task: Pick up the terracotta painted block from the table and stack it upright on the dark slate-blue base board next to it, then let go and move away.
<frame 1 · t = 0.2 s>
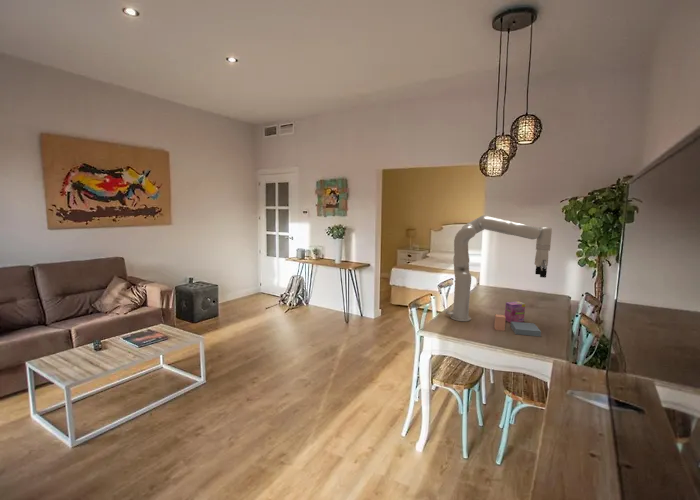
hand: (540, 275, 218), 31 cm above the table, tool pointing down, fingers open, 9 cm apart
base: (524, 331, 210), on the table
box: (514, 321, 229), on the table
block: (499, 328, 213), on the table
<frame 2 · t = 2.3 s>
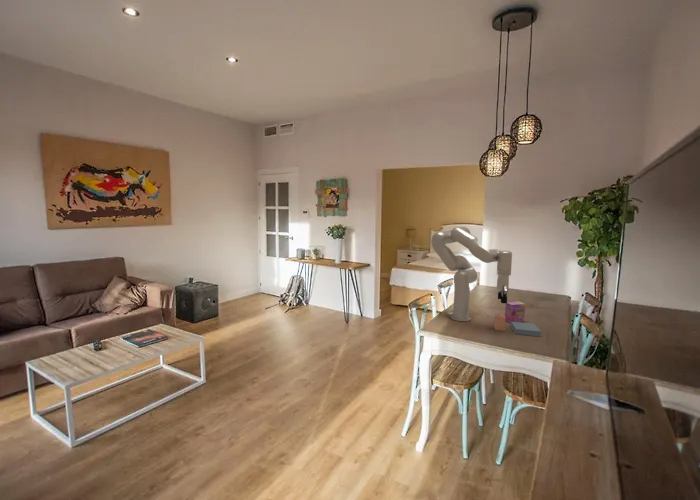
hand: (502, 301, 211), 17 cm above the table, tool pointing down, fingers open, 9 cm apart
nothing on the table moved.
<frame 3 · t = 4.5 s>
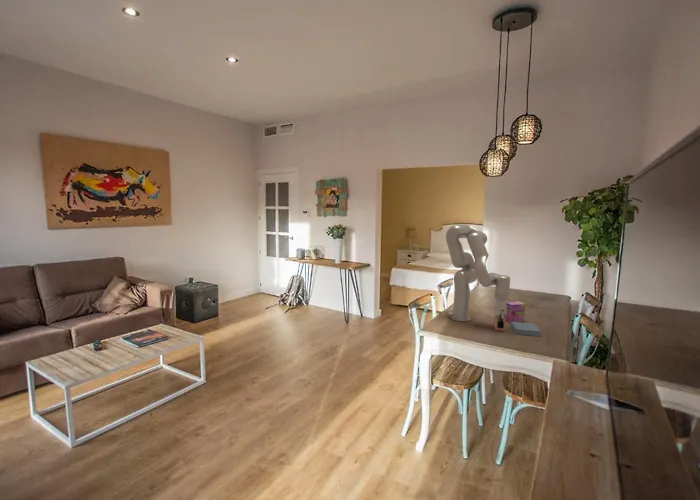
hand: (499, 326, 213), 2 cm above the table, tool pointing down, fingers closed on block, 5 cm apart
block: (499, 328, 213), on the table, touching gripper
everything else where it was.
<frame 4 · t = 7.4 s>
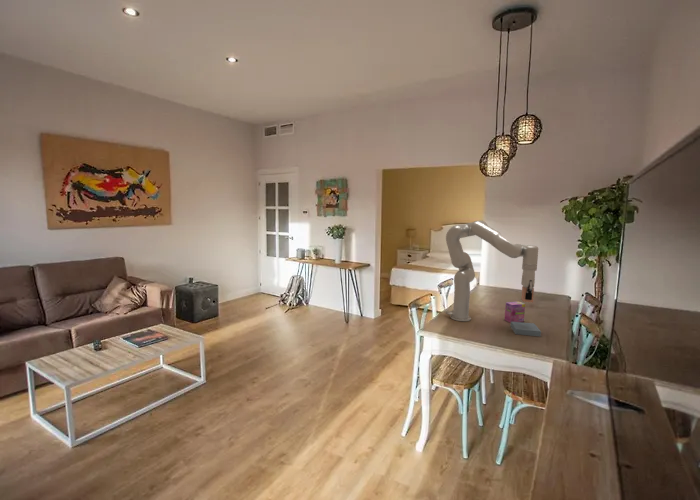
hand: (527, 298, 208), 20 cm above the table, tool pointing down, fingers closed on block, 5 cm apart
block: (527, 300, 208), point 18 cm above the table, touching gripper
everything else where it was.
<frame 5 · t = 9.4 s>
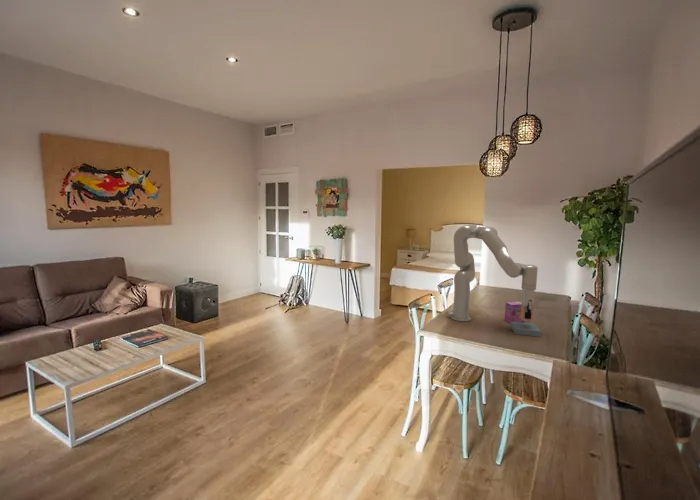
hand: (526, 316, 209), 9 cm above the table, tool pointing down, fingers closed on block, 5 cm apart
block: (526, 319, 209), point 7 cm above the table, touching gripper
everything else where it was.
when the fingers open (6 cm above the table, at t = 10.7 s): block drops 2 cm, resting on base.
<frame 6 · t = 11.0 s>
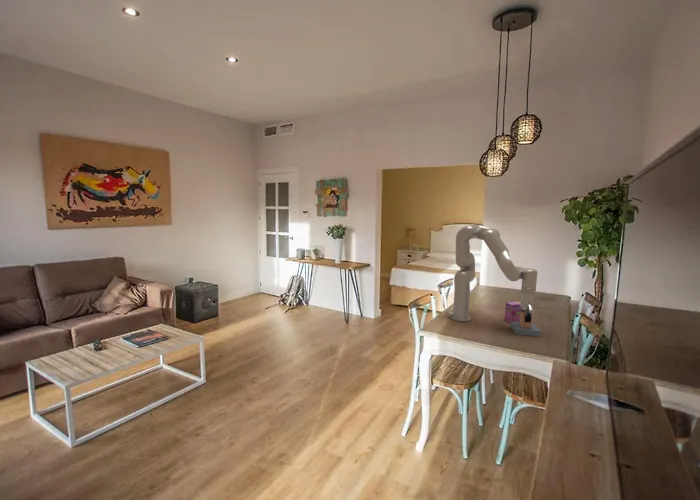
hand: (525, 319, 210), 7 cm above the table, tool pointing down, fingers open, 7 cm apart
block: (525, 326, 210), point 3 cm above the table, touching base
everything else where it was.
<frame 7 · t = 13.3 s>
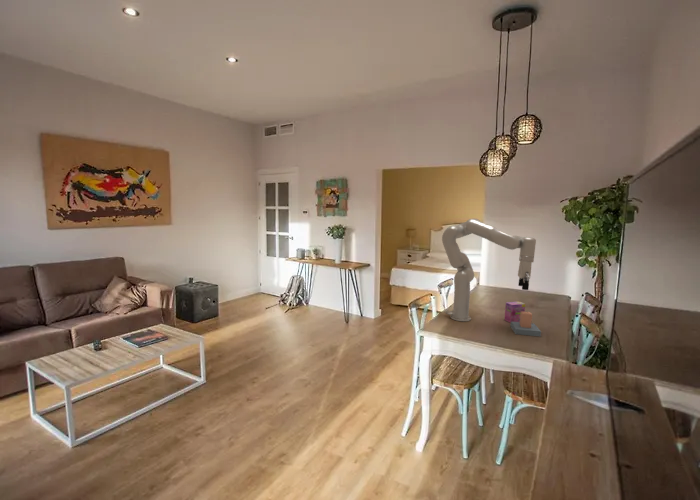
hand: (523, 287, 210), 25 cm above the table, tool pointing down, fingers open, 9 cm apart
nothing on the table moved.
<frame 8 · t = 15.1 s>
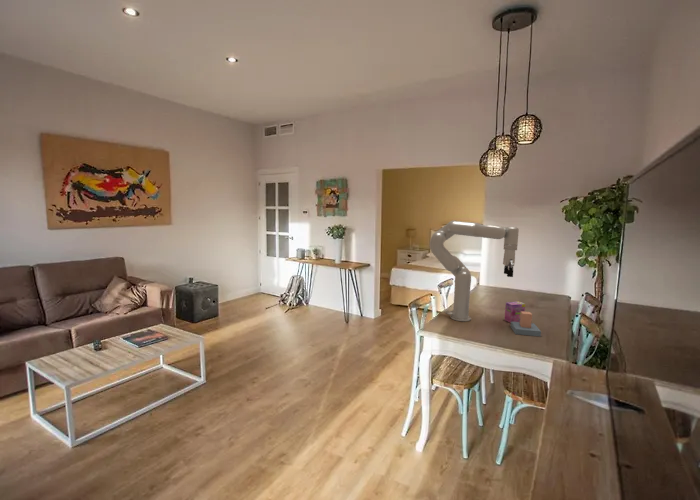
hand: (508, 275, 220), 30 cm above the table, tool pointing down, fingers open, 9 cm apart
nothing on the table moved.
at the end: block inside the target area on the base (0.1 cm from its centre), point 3.0 cm above the base's base; block tilted 0°; the gripper is holding nothing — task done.
